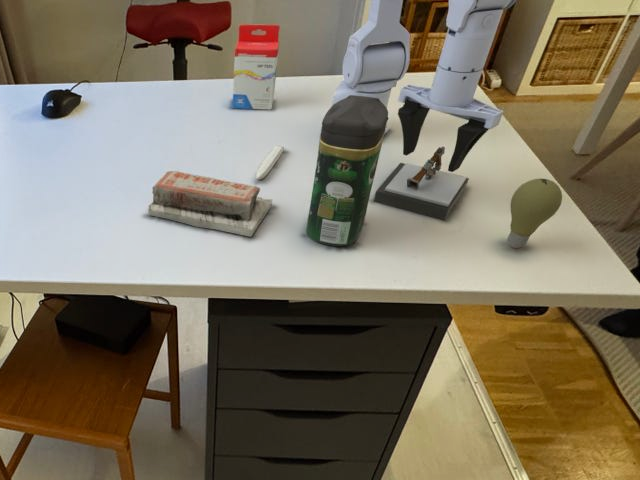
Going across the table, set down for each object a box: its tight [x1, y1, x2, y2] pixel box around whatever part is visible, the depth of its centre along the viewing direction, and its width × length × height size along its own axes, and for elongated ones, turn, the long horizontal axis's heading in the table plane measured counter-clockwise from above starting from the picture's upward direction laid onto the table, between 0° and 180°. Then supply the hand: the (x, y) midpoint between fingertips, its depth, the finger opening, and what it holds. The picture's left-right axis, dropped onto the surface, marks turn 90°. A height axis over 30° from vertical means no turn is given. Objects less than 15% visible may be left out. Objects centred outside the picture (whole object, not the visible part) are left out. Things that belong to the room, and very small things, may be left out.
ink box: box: [232, 23, 280, 111], centre depth 111 cm, size 8×5×15 cm, turn 77°
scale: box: [373, 162, 470, 221], centre depth 87 cm, size 11×11×2 cm
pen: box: [255, 144, 285, 180], centre depth 96 cm, size 2×14×2 cm, turn 154°
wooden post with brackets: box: [407, 146, 446, 191], centre depth 85 cm, size 2×8×4 cm, turn 131°
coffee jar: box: [305, 95, 390, 247], centre depth 75 cm, size 10×8×19 cm
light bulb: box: [506, 177, 563, 249], centre depth 73 cm, size 6×6×10 cm
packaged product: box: [147, 170, 273, 238], centre depth 86 cm, size 18×5×10 cm
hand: (430, 160), depth 83 cm, fingers open, 7 cm apart
